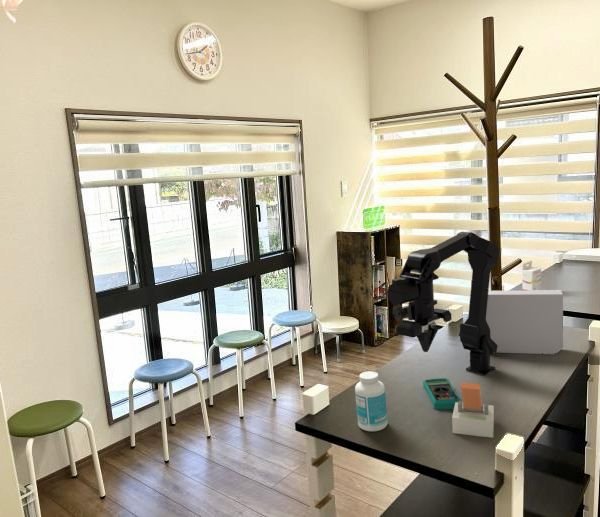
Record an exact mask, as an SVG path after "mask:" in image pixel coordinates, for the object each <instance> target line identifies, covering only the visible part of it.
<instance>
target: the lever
mask: <svg viewBox="0 0 600 517" xmlns="http://www.w3.org/2000/svg"><path fill="white" fill-rule="evenodd" d="M460 390H461V397H462V398H461V399H462V403H463V411H472V412H483V406H482V405H483V403H482V402H483V400H482V393H481V385H480V383H474V382H472V383H470V382H469V383H468V382H460Z"/></svg>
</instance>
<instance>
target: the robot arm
mask: <svg viewBox="0 0 600 517" xmlns="http://www.w3.org/2000/svg"><path fill="white" fill-rule="evenodd" d="M462 251H463V252H465V253H467V260H468V263H469V266H470V268H471V270H472V272H471V283H470V284H471V285H470V294H469V295H470V296H469V305H468V314H467V315H468V316H467V319H466V320H465V321H464V322H461V323H460V324H459V334H458V337H459V341H460V343H461V345H462V347H463V349H464V350H467V351H469V366H468V367H466V368H465V372H467V371H468V372H469V373H470V372H471V373H475V374H479V375H482V376H487V375H488V374H490V373H491V372H492V371H494V370H496V367H495V366H493V365H491V356H494V355H495V354H496V353H498V352H497V347H498V345H497V344H496V343H495V342H494V341H493V340H492V339H491V338H490V328H489V326H488V324H487V321H486V312H487V301H488V291H490V290H489V288H490V279H491V272H492V270H493V269H494V268H495V266H496V265H497V263H498V258H499V256H500V255H499V254H500V248H499V246H498V245H497V243H496V242H493V241H490V240H488V239H485V238H483V237H481V236H479V235H477V234H476V233H474V232H472V231H460V232H458V233H456V235H454V236H452V237H450V238H448V239H446V240H444V241H442V242H440V243H438V244H436V245H435V246H431V247H430V248H423V249H422V248H421V249H418V250H413V251H411V252H410V253H409V254H408V255H407V259H406V260H405V263H404V265H403V267H402V269H401V271H400V274H399V278H393V279H391V283H390V285H389V286H388V287H387V290H386V295H387V298H388V300H389V302H390V303H391V304H392V305H394V306H393V307H392V317H393V318H394V319H397V320H398V321H401V322H399V323H397V324H396V325H395V327H394V328H395V334H396V335H400V336H403V337H408V338H416V337H417V339H418V342H419V344H420V347H421V349H422V350H421V351H423V353H427V352H429V350H430V348H431V346H432V343H433V341H434V339H435V337H436V335H437V333H438V331H439V329H441V325H438V324H437V323H436V321H438V320H440V319H442V321H443V322H445V323H447V322H450V321H452V313H451V311H450V310H449V309H446V308H445V309H444V308H438V307H435V305H437V304H438V300H437V299H435V298H434V297H435V296H434V281H435V280H439V278H440V277H439V276H438V274H436V273H435V272H436V271H437V270H438V269H439V268H440V267H441V264H442V262H444V261H445V260H447V259H450V258H451V257H453V256H455V255H457V254H459V253H461V252H462ZM406 303H408V305H404V306H402V305H403V304H406ZM404 319H407V320H404ZM402 320H404V321H402ZM408 320H409V321H408Z"/></svg>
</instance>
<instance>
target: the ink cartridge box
mask: <svg viewBox="0 0 600 517" xmlns="http://www.w3.org/2000/svg"><path fill="white" fill-rule="evenodd" d="M532 263H533V261H532V260H530V261H526V262H524V263H522V274H521V276H522V277H521V278H522V279H521V280H522V282H521V283H522V284H521V285H522V291H527V290H542V267H534V266H532Z"/></svg>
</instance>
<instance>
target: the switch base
mask: <svg viewBox="0 0 600 517" xmlns="http://www.w3.org/2000/svg"><path fill="white" fill-rule="evenodd" d="M482 406H483V412H472V411H463V400H462V401H458V403H457V402H455V406H454V409H453V413H452V417H451V421H452V423H451V425H452V434H456V435H457V434H458V435H466V436H474V437H483V438H484V437H485V438H492V439H493V438H494V432H495V431H494V430H495V429H494V428H495V409H494V408H495V407H494V405H489V403H487V402H484V404H482Z"/></svg>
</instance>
